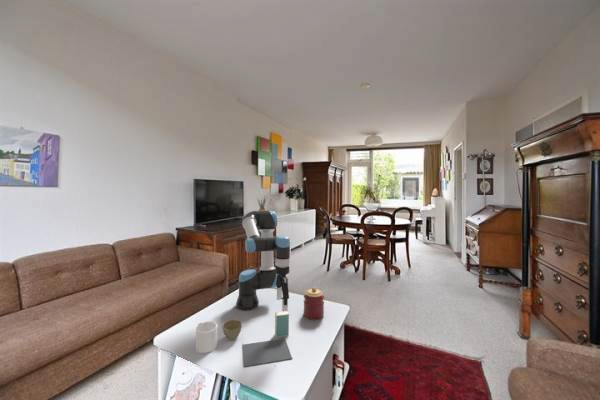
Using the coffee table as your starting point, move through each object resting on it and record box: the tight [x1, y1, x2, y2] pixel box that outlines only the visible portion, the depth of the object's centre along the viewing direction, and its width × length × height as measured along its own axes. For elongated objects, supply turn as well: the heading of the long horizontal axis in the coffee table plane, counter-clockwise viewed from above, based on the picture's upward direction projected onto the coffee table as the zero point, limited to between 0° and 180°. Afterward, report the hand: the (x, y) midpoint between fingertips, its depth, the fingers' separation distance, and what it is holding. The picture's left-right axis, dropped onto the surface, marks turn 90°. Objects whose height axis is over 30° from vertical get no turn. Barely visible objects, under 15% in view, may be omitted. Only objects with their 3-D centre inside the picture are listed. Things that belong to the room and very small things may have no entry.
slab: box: [274, 311, 290, 339], centre depth 133 cm, size 3×7×12 cm, turn 105°
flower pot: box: [222, 319, 243, 341], centre depth 130 cm, size 10×10×7 cm
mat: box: [242, 337, 293, 368], centre depth 118 cm, size 16×22×1 cm
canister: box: [303, 286, 325, 321], centre depth 155 cm, size 13×13×18 cm
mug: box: [195, 321, 218, 354], centre depth 122 cm, size 13×10×10 cm
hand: (281, 304), depth 131 cm, fingers open, 13 cm apart
